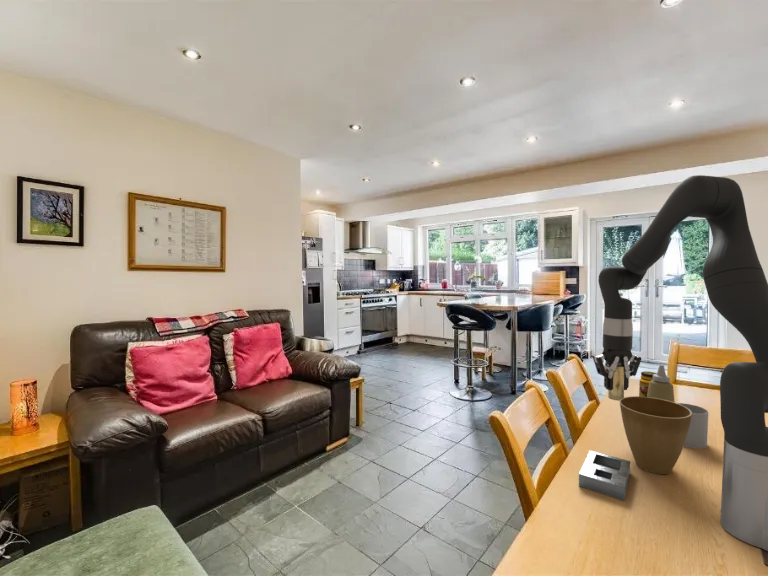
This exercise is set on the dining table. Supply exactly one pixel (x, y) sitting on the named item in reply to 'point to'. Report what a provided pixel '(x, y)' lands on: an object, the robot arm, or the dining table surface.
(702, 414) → the cup
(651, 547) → the dining table surface
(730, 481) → the robot arm
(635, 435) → the plant pot
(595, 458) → the steel socket block
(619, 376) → the spice shaker
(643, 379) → the condiment
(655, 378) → the squeeze bottle
